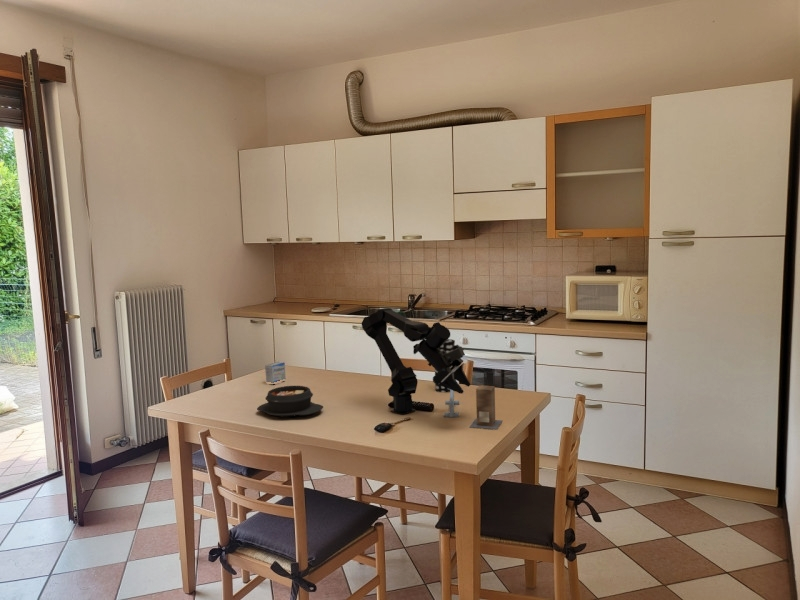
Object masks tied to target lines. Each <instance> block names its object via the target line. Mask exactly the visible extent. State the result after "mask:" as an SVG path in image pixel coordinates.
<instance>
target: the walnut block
mask: <svg viewBox="0 0 800 600" xmlns="http://www.w3.org/2000/svg"><path fill="white" fill-rule="evenodd" d="M495 388H496V387H495V386H493V385H482V384H481V385H478V386H477V388H476V389H475V399H476V403H475V405H476V418H477V425H480V426H493V424H494V423H495V420H496V390H495Z"/></svg>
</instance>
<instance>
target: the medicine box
mask: <svg viewBox="0 0 800 600" xmlns="http://www.w3.org/2000/svg"><path fill="white" fill-rule="evenodd" d="M264 368H265V383H266V382H271V383H274V382H277V381H280V380H283V379H286V380H287V378H286V365H285V361H284V362H283V361H277V362H273V363H268V364H266V365H265V366H264Z"/></svg>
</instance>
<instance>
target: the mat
mask: <svg viewBox="0 0 800 600" xmlns="http://www.w3.org/2000/svg"><path fill="white" fill-rule="evenodd" d="M502 421H503V420H502V419H501V420H500V419H495V423H494V424H493V426H480V425H477V417H476V418H475V419H474V420H473V422H472V423H471V424H470V425H469V428H472V429H481V428H483V430H493V429H497V430H499V428H500V426H501V425H500V424H502V423H503V422H502ZM498 427H499V428H498Z"/></svg>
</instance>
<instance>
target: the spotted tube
mask: <svg viewBox="0 0 800 600" xmlns="http://www.w3.org/2000/svg"><path fill="white" fill-rule="evenodd" d="M455 344H456V341H455V340H454V339H451V338H448V339H447V341H446V342H445V343H444V344H443V345H442V346H441V347H440V348H439V349H440V350H441V351H443V350H445V351H446V352H450V351H451V350H453V346H455ZM436 374H437V370H436V369H435V368H434V376H435V375H436ZM441 383H442V382H440V383H439V384H438V385H436V384H435V383H434V384H435V386H434V390H435V391H436V392H439V393H450V389H448V388H445V387H443V386H439V385H440V384H441Z"/></svg>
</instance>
